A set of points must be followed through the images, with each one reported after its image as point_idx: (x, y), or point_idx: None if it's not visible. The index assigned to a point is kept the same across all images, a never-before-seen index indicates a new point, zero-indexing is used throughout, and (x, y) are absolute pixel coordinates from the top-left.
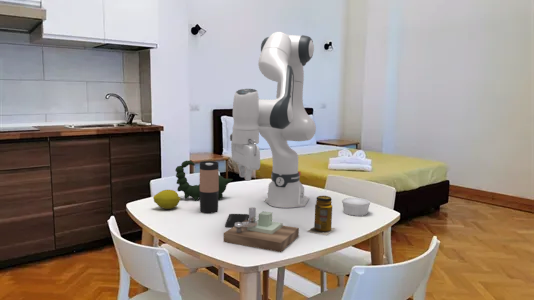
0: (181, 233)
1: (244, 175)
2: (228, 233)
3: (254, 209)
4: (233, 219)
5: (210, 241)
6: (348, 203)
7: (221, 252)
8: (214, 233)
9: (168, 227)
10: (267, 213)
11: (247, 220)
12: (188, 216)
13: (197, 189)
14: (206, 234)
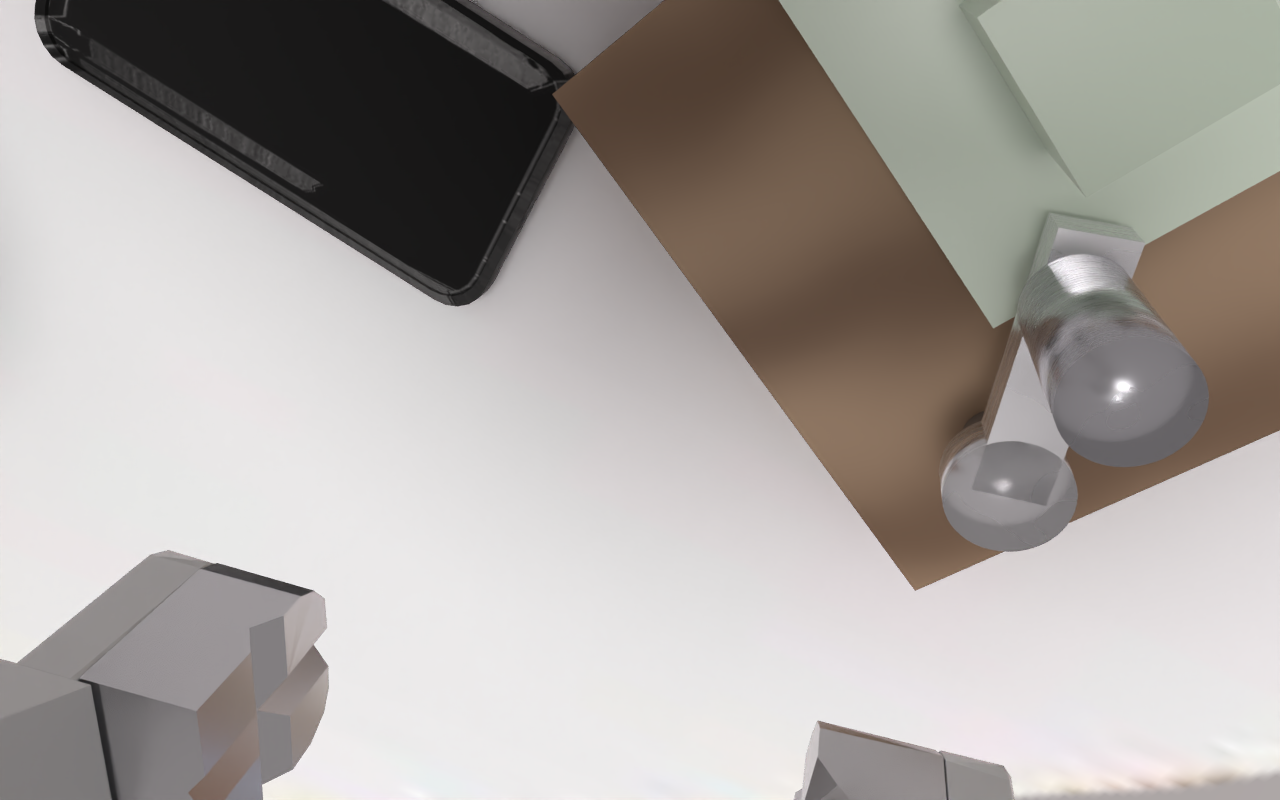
0: (503, 708)
1: (287, 652)
2: (972, 561)
3: (1206, 394)
4: (262, 103)
5: (829, 618)
6: None
7: (1176, 676)
8: (623, 488)
9: None
10: (1190, 14)
11: (594, 94)
12: (33, 464)
13: None
14: (619, 561)
